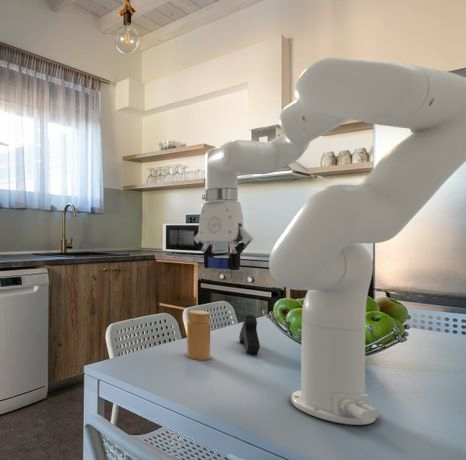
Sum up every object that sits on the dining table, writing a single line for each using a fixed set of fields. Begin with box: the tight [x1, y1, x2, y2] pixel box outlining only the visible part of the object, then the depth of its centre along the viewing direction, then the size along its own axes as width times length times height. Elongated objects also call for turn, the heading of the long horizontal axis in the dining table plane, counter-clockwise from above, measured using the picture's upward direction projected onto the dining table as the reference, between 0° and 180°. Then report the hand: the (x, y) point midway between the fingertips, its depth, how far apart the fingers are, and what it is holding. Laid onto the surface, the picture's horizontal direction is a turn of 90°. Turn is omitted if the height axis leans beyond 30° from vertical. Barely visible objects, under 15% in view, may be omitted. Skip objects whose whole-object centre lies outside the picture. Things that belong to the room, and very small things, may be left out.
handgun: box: [238, 313, 261, 355], centre depth 111 cm, size 3×14×10 cm
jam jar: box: [186, 309, 211, 361], centre depth 104 cm, size 6×6×12 cm
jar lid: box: [207, 256, 230, 270], centre depth 100 cm, size 6×6×3 cm
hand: (221, 268), depth 100 cm, fingers closed on jar lid, 6 cm apart
